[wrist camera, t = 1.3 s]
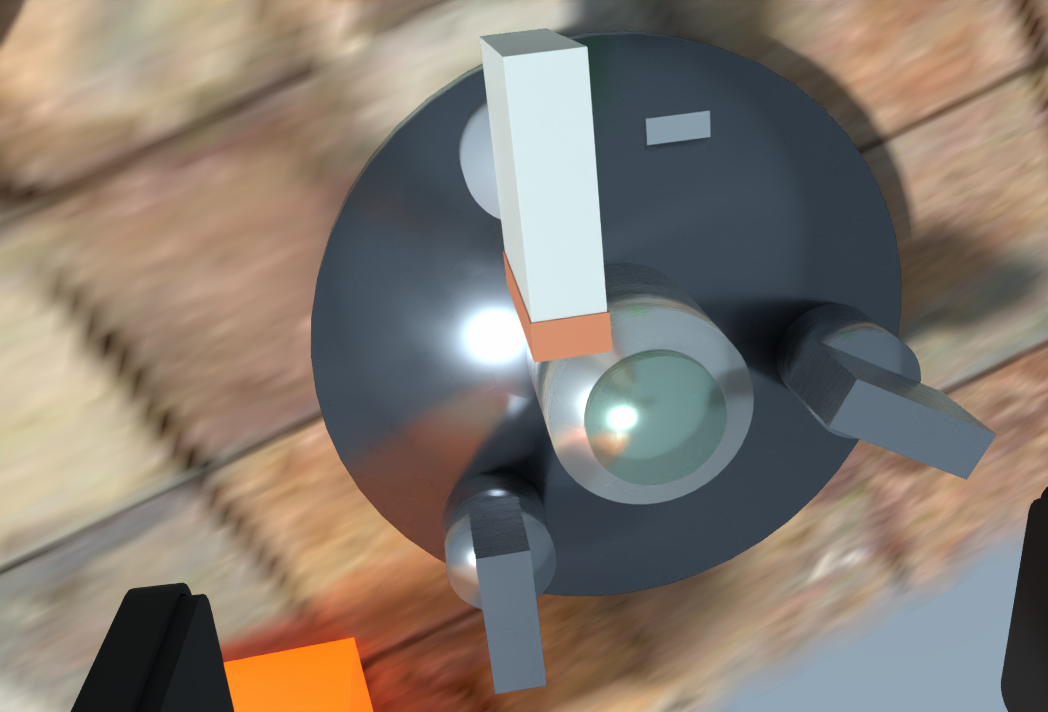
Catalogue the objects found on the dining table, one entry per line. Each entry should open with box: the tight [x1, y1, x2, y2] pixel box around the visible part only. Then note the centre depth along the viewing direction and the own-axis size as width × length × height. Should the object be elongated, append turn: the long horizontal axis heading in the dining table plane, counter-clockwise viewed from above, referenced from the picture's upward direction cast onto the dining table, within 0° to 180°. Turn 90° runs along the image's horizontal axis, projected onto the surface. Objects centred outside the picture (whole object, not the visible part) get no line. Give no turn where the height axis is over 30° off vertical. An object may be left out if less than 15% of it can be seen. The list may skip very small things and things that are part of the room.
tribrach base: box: [311, 31, 996, 694], centre depth 30 cm, size 20×20×8 cm
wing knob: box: [458, 28, 613, 363], centre depth 25 cm, size 7×4×8 cm, turn 6°
